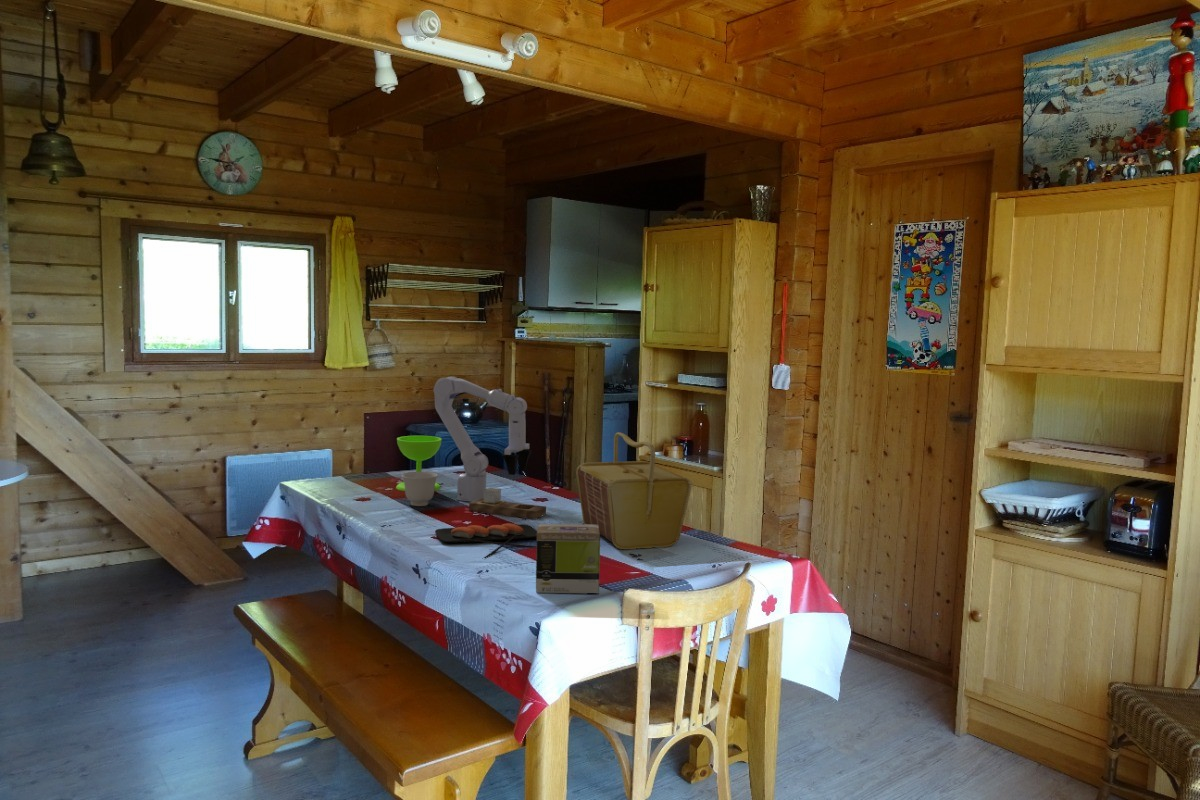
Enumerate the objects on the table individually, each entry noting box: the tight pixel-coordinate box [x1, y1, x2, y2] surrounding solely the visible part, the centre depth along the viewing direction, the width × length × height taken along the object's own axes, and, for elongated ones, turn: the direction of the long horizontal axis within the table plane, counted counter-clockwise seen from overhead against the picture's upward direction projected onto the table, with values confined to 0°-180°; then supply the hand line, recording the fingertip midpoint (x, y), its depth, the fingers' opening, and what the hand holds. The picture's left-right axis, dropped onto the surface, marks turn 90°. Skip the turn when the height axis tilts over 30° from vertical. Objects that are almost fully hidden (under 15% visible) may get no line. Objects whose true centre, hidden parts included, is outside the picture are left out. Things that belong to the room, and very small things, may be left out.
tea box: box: [535, 523, 601, 594], centre depth 207 cm, size 15×10×15 cm
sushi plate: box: [434, 522, 537, 559], centre depth 244 cm, size 29×30×4 cm
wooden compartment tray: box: [468, 499, 547, 520], centre depth 283 cm, size 24×8×3 cm, turn 69°
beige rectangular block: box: [484, 487, 502, 505], centre depth 284 cm, size 4×4×7 cm
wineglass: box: [395, 435, 443, 492], centre depth 316 cm, size 16×16×18 cm
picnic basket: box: [575, 431, 692, 550], centre depth 255 cm, size 29×26×30 cm
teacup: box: [401, 471, 439, 507], centre depth 290 cm, size 12×15×10 cm
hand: (517, 472), depth 296 cm, fingers open, 7 cm apart
